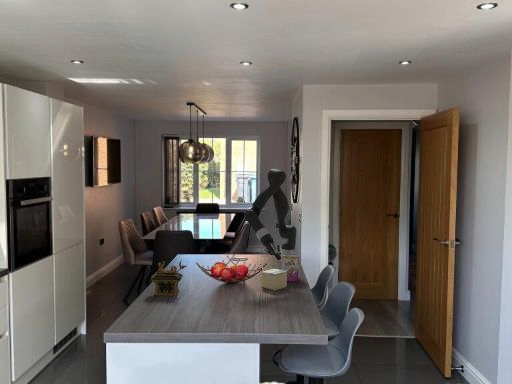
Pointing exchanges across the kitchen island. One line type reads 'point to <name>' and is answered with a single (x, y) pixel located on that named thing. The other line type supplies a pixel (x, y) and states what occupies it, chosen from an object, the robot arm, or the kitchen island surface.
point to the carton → (274, 281)
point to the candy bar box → (290, 267)
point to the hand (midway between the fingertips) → (279, 259)
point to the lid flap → (274, 271)
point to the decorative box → (167, 280)
